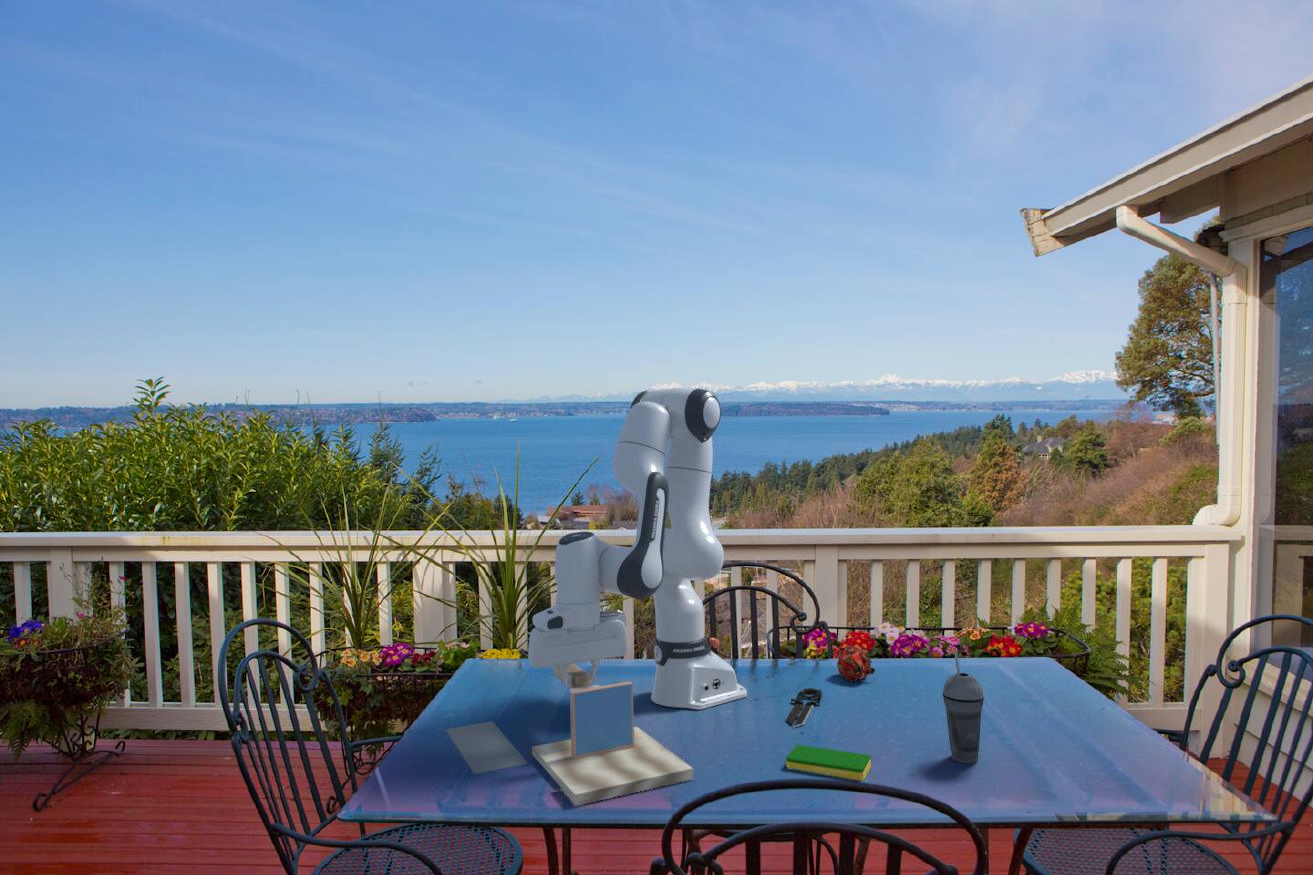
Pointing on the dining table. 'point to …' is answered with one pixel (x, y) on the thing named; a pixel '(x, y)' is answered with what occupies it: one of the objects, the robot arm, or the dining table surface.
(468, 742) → the mat
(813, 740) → the dining table surface
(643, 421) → the robot arm
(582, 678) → the turner
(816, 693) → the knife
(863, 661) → the dragon fruit
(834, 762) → the dish sponge
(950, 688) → the beverage cup
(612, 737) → the tile
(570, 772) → the board
